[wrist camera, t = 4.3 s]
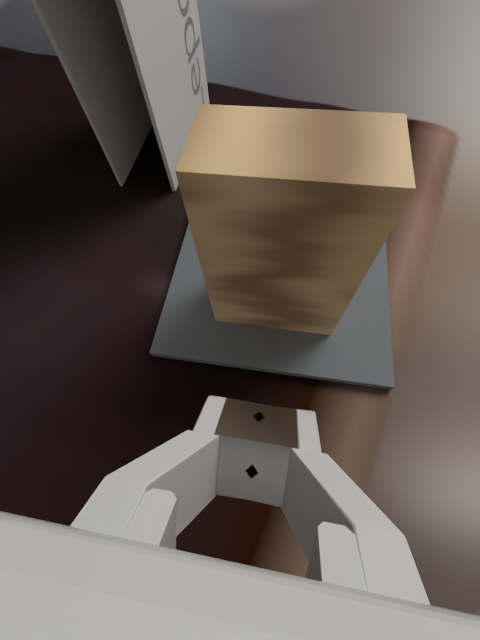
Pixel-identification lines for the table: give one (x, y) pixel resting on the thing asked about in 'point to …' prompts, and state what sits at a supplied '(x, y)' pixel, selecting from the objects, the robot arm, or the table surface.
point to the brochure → (132, 72)
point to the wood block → (291, 207)
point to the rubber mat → (280, 332)
